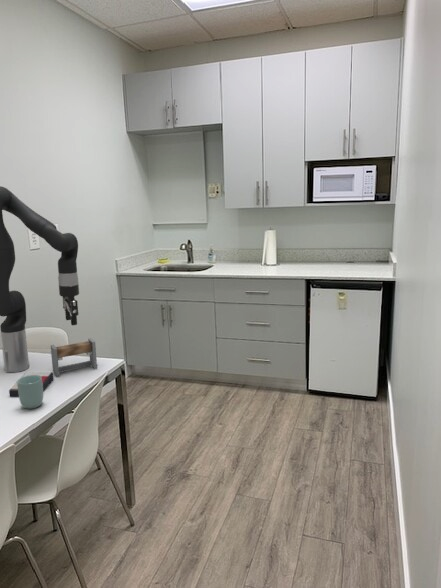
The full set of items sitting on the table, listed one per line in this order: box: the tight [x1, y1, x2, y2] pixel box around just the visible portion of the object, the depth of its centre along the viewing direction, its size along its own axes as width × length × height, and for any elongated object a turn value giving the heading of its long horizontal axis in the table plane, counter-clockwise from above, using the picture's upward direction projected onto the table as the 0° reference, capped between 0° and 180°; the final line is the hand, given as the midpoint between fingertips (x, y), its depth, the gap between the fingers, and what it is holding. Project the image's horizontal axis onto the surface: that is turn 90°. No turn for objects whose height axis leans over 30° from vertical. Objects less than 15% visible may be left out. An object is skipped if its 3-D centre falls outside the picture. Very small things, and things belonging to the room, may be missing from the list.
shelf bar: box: [55, 340, 91, 358], centre depth 181 cm, size 13×4×4 cm, turn 123°
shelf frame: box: [50, 337, 98, 378], centre depth 182 cm, size 17×6×12 cm, turn 123°
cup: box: [16, 375, 44, 410], centre depth 151 cm, size 8×8×10 cm
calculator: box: [8, 371, 55, 398], centre depth 166 cm, size 11×4×15 cm
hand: (71, 322), depth 179 cm, fingers open, 8 cm apart
